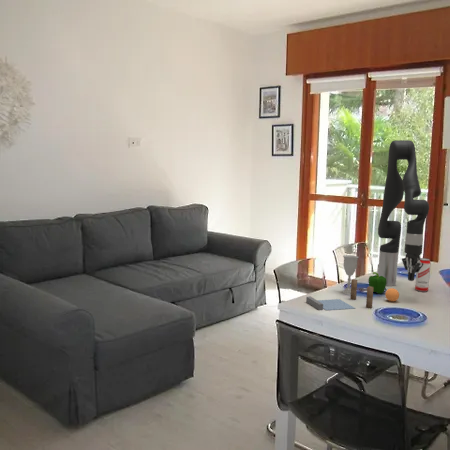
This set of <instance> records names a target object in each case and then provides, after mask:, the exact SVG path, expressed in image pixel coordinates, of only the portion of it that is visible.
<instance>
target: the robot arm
mask: <svg viewBox="0 0 450 450" xmlns="http://www.w3.org/2000/svg"><path fill="white" fill-rule="evenodd" d="M402 160H403V161H404V160H405V161H407V168H406V170H405V172H404V175H403V177H401V175H400V173H399V170H398V161H402ZM387 161H388V162H387V172H386V178H385V185H384V190H383V198H382V199H383V200H382V207H381V208H382V209H381V214H380V218H379V221H378V222H379V223H378V227H377V234H378V237H379V238H381V239H391V240H390V241H389V242H386V243H383V244H381V245H380V246H379V253H378V254H379V258H378V264H377V270H376V273H378V275H379V276H383V277H384V278H386V280H387V282H386V286H388V287H389V286H391V287H393V286H396V285H397V277H398V276H397V273H398V261H399V251H400V250H399V249H400V241H401V233H402V224H401V222H400V221H399V220H388V219H389V218H390V215H391V214H392V212H393V211H394V209H396V207H398V206H399V205H400V203H401V202H402V201H403V199H404V203H403V209H404V212H405V213H406V214H407V215H409V216H416V218H413V219H410V220H408V221H407V222H406V233H405V238H404V239H405V240H404V253H405V257H404V258H403V257H402V258H401V261H402V263H403V264H402V265H403V267H404V269H405V271H407V280H408V281H410V282H413V281H414V280H415V278H416V275H415V274H416V272H419V270H420V269H421V267H422V266H423V263H421V262H420V258H421V257H420V256H421V255H422V254H423V245H424V244H423V242H424V235H423V233H424V225H425V222H426V219H427V217H428V214H429V211H430V206H429V205H430V204H429V202H428V201H427V200H425V199H416V198H418V197H420V196H421V194H422V190H421V189H422V188H421V185H420V181H419V177H418V169H417V168H418V167H417V155H416V147H415V144H414V142H413V141H412V140H408V139H405V140H403V139H402V140H401V139H400V140H392V141H391V142H390V144H389V148H388V159H387Z"/></svg>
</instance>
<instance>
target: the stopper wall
mask: <svg viewBox="0 0 450 450" xmlns="http://www.w3.org/2000/svg"><path fill="white" fill-rule="evenodd" d="M305 303H307V304H308V305H310V306H311V307H313V308H315V309H317V310H318V311H323V310H324V309H323V304H322V303H321V302H319V301H317V299H315V298H314V297H312V296H306V299H305Z"/></svg>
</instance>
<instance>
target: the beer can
mask: <svg viewBox="0 0 450 450" xmlns="http://www.w3.org/2000/svg"><path fill="white" fill-rule="evenodd" d="M420 262H421V263H423V266H422V267H421V269H420V270H419V272H416V273H415V274H416V275H415V282H414V283H415V285H414V288H415V290H416V291H417V292H419V293H420V292H421V293H423V292H424V293H426V292H428V291H429V288H430V275H431V260H430V258H423V257H420Z"/></svg>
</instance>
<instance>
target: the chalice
mask: <svg viewBox="0 0 450 450" xmlns="http://www.w3.org/2000/svg"><path fill="white" fill-rule="evenodd" d="M342 257H343V270H344V272H345V274H346V275H347V276H348V277H347V283H346V284H347V287H345V289H344V290H343V292H342V294H344V295H348V296H351V281H352V279H351V277H352V276H353V275H354V273H355V272H356V270H357V268H358V260H359V257H360V256H357V255H352V254H345V255H342Z"/></svg>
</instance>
